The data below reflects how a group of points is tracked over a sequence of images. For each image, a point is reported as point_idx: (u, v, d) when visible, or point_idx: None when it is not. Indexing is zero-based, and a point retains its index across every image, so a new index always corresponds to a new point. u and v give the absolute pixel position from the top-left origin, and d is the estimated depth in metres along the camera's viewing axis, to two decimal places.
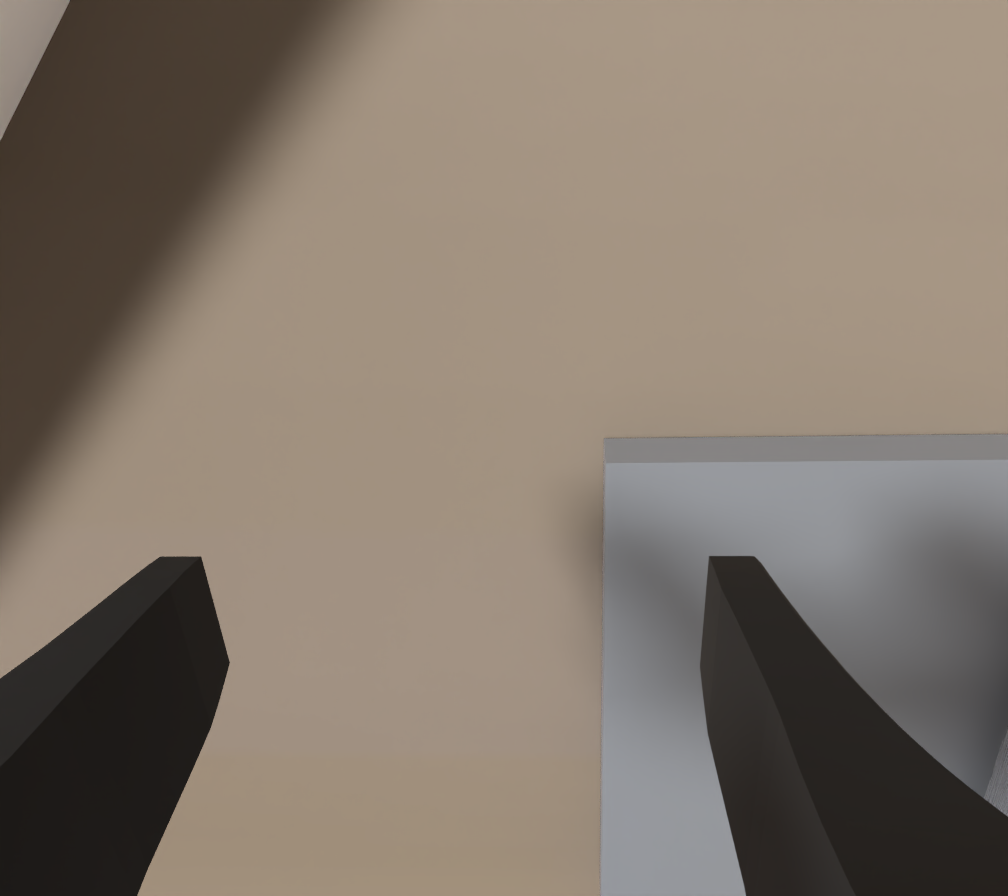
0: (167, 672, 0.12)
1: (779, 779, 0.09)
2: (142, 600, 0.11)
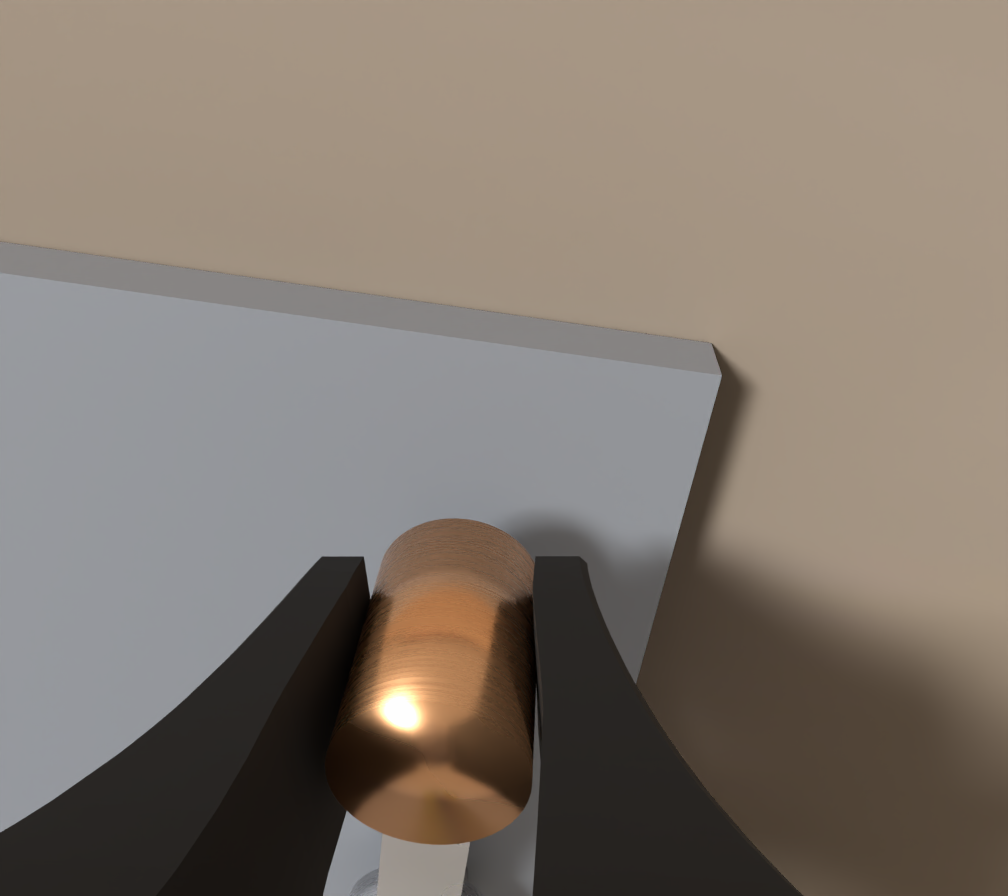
0: (343, 673, 0.12)
1: None
2: (323, 600, 0.11)
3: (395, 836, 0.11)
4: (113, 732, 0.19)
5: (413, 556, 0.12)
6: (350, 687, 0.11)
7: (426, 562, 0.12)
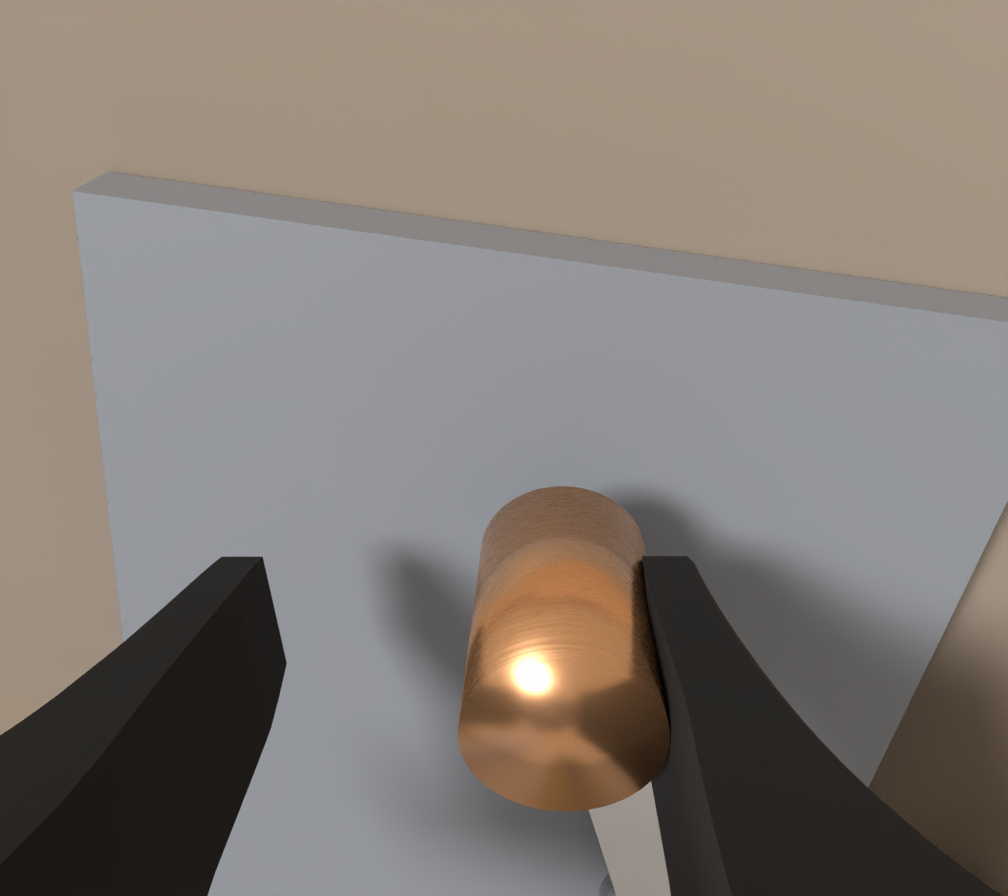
0: (233, 673, 0.12)
1: (688, 777, 0.09)
2: (210, 600, 0.11)
3: (559, 809, 0.11)
4: (368, 716, 0.18)
5: (499, 539, 0.12)
6: (465, 676, 0.11)
7: (510, 539, 0.12)
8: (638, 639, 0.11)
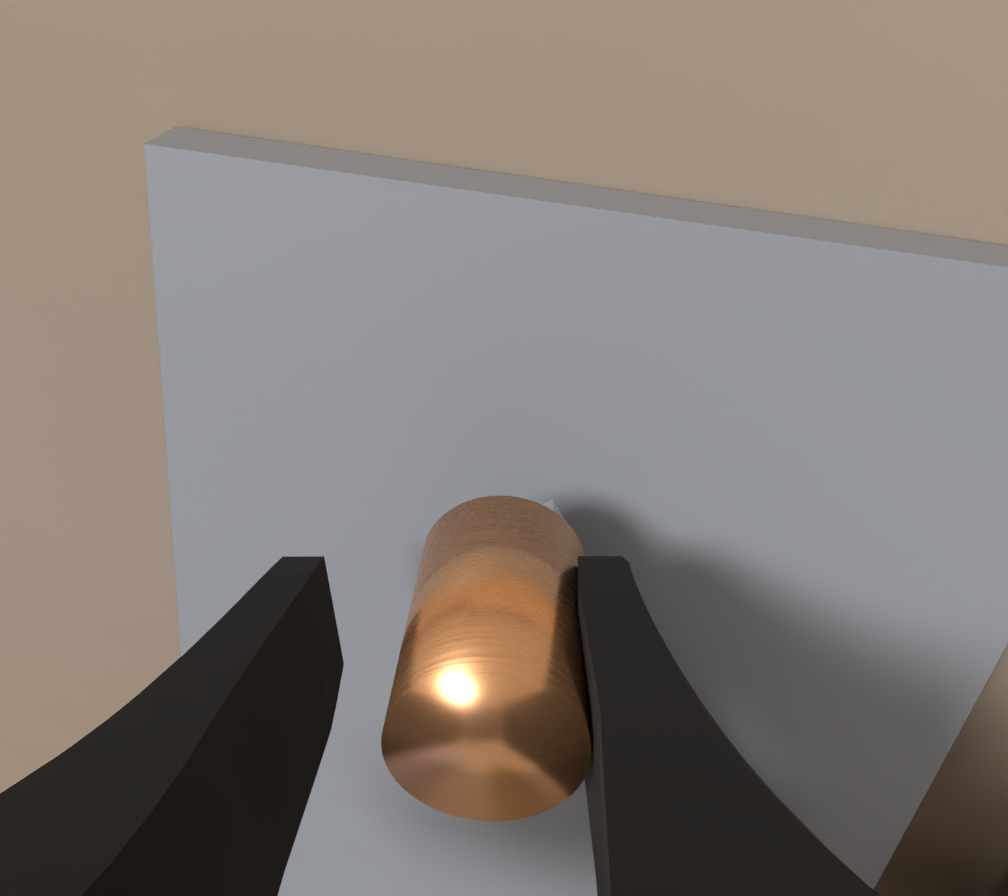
0: (300, 673, 0.12)
1: (600, 776, 0.09)
2: (279, 600, 0.11)
3: (508, 818, 0.11)
4: None
5: (424, 560, 0.13)
6: None
7: (431, 560, 0.12)
8: (544, 639, 0.11)
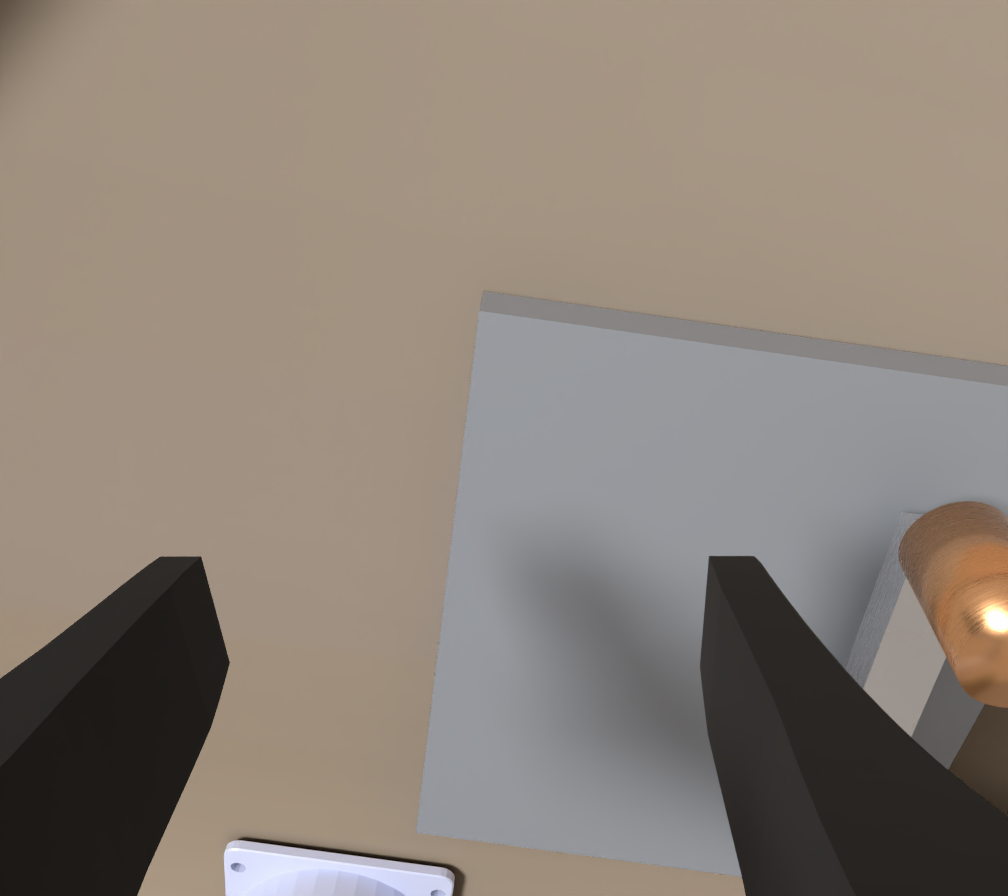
0: (167, 672, 0.12)
1: (779, 779, 0.09)
2: (142, 600, 0.11)
3: (986, 703, 0.17)
4: (612, 667, 0.25)
5: (953, 527, 0.19)
6: (962, 608, 0.17)
7: (968, 530, 0.18)
8: None
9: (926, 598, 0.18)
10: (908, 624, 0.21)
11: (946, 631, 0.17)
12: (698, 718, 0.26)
